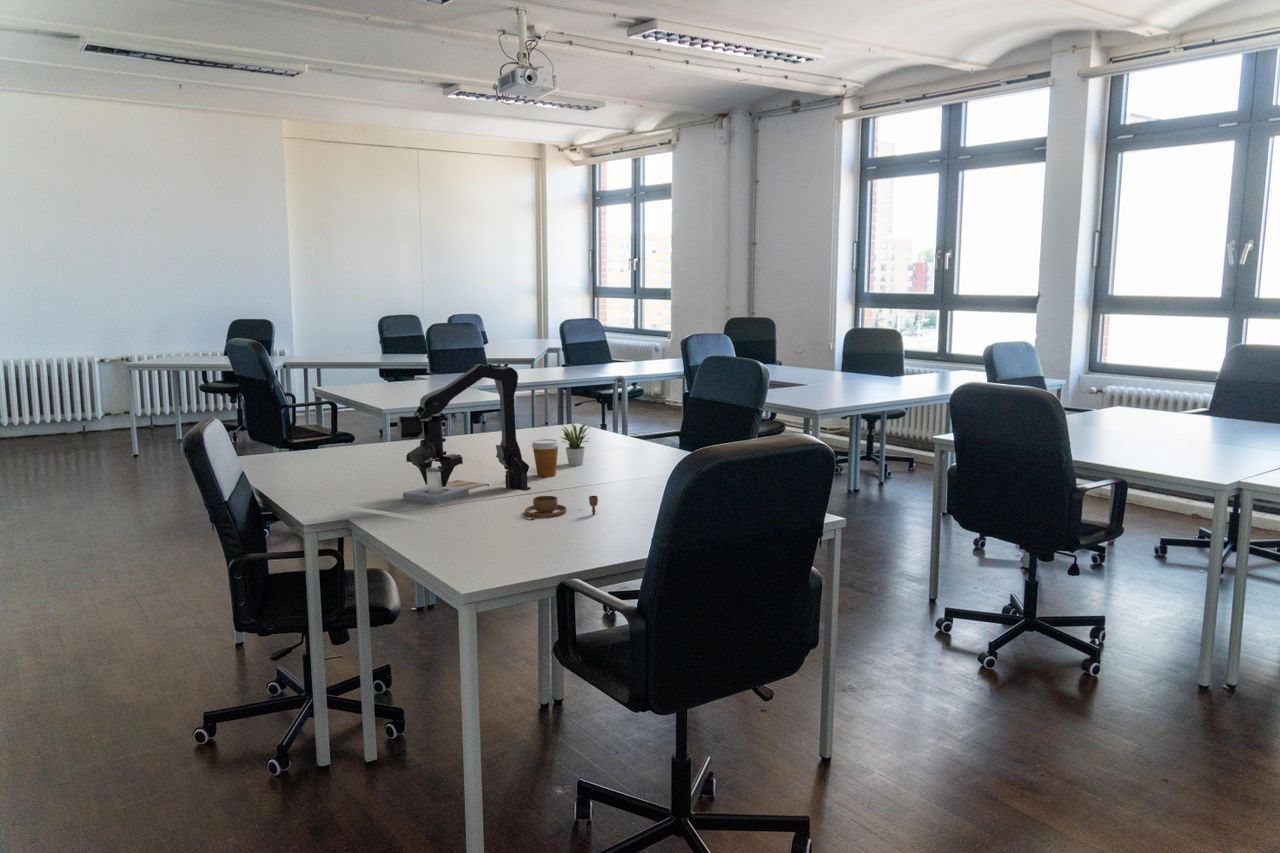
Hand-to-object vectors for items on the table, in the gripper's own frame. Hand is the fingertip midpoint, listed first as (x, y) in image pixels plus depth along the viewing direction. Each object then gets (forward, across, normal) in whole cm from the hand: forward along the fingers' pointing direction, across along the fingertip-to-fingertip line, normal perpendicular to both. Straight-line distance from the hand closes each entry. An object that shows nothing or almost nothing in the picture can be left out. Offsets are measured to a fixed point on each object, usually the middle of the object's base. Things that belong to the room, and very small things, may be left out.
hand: (435, 485), depth 279 cm
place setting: (+5, +44, +3) cm, 44 cm away
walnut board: (+4, -5, +15) cm, 16 cm away
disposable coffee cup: (+5, +7, +46) cm, 47 cm away
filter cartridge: (+4, 0, 0) cm, 4 cm away
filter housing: (+4, 0, 0) cm, 4 cm away
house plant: (+5, +5, +68) cm, 68 cm away
